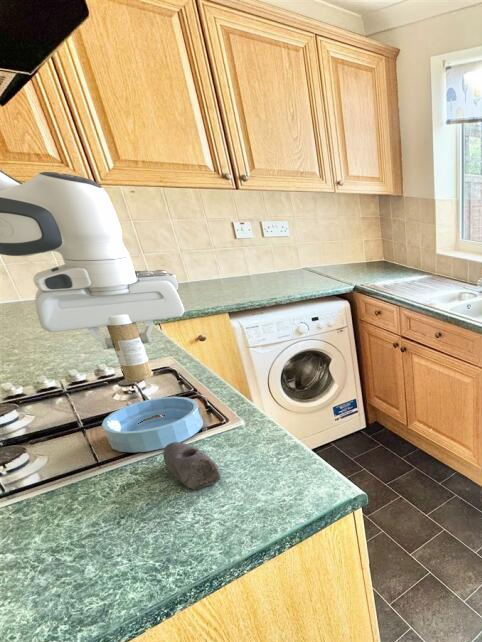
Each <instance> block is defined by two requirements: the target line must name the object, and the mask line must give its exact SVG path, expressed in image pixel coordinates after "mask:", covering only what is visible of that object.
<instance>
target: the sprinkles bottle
mask: <svg viewBox="0 0 482 642" xmlns="http://www.w3.org/2000/svg"><path fill="white" fill-rule="evenodd" d="M110 321H111V325H109V326H106V329H107V331H108V334H109V336H110V337H111V339H112V342H113V345H114V348H113V349H114V352H115V355H116V358H117V360H118V364H119V365H120V367H121V370H122V373H123V375H124V376H123V378H124V379H125V380H126V381H129V382H137V381H141V380H143V381H144V380H147V379H149V378H151V377H153V376H154V371H152V368H151V365H150V362H149V357H148V353H147V351H146V348H145V345H144V344H143V343H142V339H141V337H140V334H139V333H140V331H139V328H138V325H137V322H131V321H130V319H129V316H128V315H115V316H111V317H110Z"/></svg>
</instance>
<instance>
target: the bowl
mask: <svg viewBox="0 0 482 642" xmlns="http://www.w3.org/2000/svg"><path fill="white" fill-rule="evenodd" d="M155 415H165V416H164V417H158V418H153V419H150V420H146V421H143V420H144V419H147V418H150V417H152V416H155ZM141 421H143V422H141ZM140 422H141V423H140ZM138 423H139V424H138ZM203 426H204V420H203V415H202V413H201V410H200V406H199V403H198V402H197V401H196V400H195V399H193V398H189V397H185V396H184V397H183V396H163V397H158V398H150V399H146V400H142V401H138V402H134V403H131V404H129V405H126V406H123V407H121V408H119V409H117V410H115V411H113V412H111V413H110V414H109V415H108V416H106V417H105V418H104V419H103V421H102V423H101V427H102V429H103V432H104V434H105V436H106V439H107V441H108V444H109V446H110V447H111V448H112V450H114V451H117V452H120V453H121V452H122V453H131V454H132V453H133V454H134V453H144V452H152V451H156V450H161V449H165V447H166V446H167V445H168V444H170V443H173V442H180V443H183V442H184V441H186V440H188V439H190V438H191V437H193V436H194V435H196V434H197V433H198V432H200V431H201V429H202V428H203Z"/></svg>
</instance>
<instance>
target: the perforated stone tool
mask: <svg viewBox="0 0 482 642" xmlns="http://www.w3.org/2000/svg"><path fill="white" fill-rule="evenodd" d="M163 461H164V465H165V466H166V468H167V469H168V471H169V472H170V473H171V474H172V476H174V478H176V479H177V480H178V481H179V482H181V483H182V484H183V485H184V486H185V487H186V488H188V489H191V490H193V491H198V490H200V489H204V488H206V487H211V486H215V485H216V484H217V483H219V481H220V479H221V471H220V468H219V466H218V465H217V463H216V462H215V461H214V460H213V459H212V458H211V457H210V456H209V455H208V454H207V453H205V452H204V451H203V450H201V449H199V448H197V446H193V445H190V444H188V443H184V442H173V443H170V444H168V445H167V446H166V447H165V448H164V450H163Z"/></svg>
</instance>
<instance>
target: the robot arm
mask: <svg viewBox="0 0 482 642" xmlns="http://www.w3.org/2000/svg"><path fill="white" fill-rule="evenodd" d="M48 252H56V253H58V254H59V255H60V256H61V258H62V260H63V263H64V264H62V265H61V264H60V265H58V266H55V267H51V268H48V269H45V270H41V271H38V272H37V273H35V274H34V275H33V278H32V279H33V283H34V285H35V287H36V288H37V290H36V293H35V298H34V303H35V309H36V315H37V318H38V321H39V324H40V326H41V328H42V329H43V330H44V331H46V332H48V333H53V334H54V333H60V332H67V331H75V330H84V329H87V330H88V332H89V334H90V335H91V336H92V337H94V338H95V339H97V340H98V341H99V342H101V344H102V347H103V350H111V349H114V345H113V342H112V339H111V337H105V336H104V335H102V334H101V333H100V331H101V330H100V327H107V326H109V325H111V321H110V317H111V316H115V315H128V316H129V319H130V321H131V322H136V323H139V322H140V323H141V322H142V323H143V326H145V328H144V331H143V332H139V334H140V337H141V339H142V343H143V345H144V344H151V343H152V342H153V341H152V338H151V333H152V331H153V329H154V327H155V323H154V321H156V320H164V319H165V320H166V319H172V318H180V317H182V316H183V315H184V313H185V308H184V304H183V301H182V300H181V297H180V295H179V293H178V290H179V288H180V284H179V281H178V277H177V276H176V274H174V273H172V272H170V271H166V270H165V269H156V270H135V267H134V264H133V261H132V258H131V255H130V252H129V250H128V249H127V248H126V246H125V244H124V241H123V230H122V226H121V223H120V221H119V218H118V215H117V212H116V209H115V207H114V205H113V203H112V201H111V198H110V196H109V194H108V193H107V191H106V190H105V189H104V187H103V186H101V184H99V183H98V182H96V181H94V180H92V179H90V178H86V177H83V176H79V175H73V174H68V173H60V172H53V171H43V172H38V173H37V174H35V176H33V177H32V178H31V179H29V180H27V181H25V182H22V181H20V180H18V179H16V178H15V177H13V176H11V175H9V174H8V173H6V172H5V171H3V170H1V169H0V255H2V256H8V257H9V256H11V257H30V256H35V255H40V254H44V253H48Z"/></svg>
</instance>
